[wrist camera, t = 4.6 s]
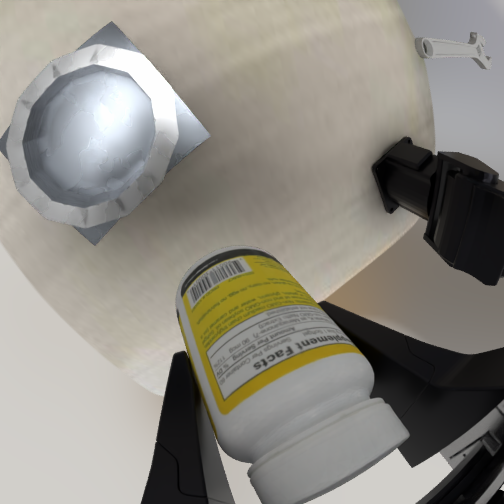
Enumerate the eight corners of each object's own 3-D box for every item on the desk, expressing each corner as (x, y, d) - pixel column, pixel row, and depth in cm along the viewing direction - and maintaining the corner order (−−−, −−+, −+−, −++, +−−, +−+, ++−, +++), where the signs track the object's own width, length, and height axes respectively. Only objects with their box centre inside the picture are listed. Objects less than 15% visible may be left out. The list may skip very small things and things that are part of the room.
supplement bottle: (257, 336, 13) (347, 482, 6) (163, 331, 11) (225, 529, 4) (299, 252, 12) (448, 403, 5) (193, 228, 9) (331, 485, 2)
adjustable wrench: (414, 59, 20) (426, 59, 18) (401, 9, 16) (413, 7, 14) (485, 69, 23) (493, 71, 22) (479, 36, 20) (487, 37, 18)
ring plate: (208, 134, 17) (220, 138, 14) (96, 241, 18) (90, 263, 15) (113, 24, 11) (107, 7, 8) (1, 144, 11) (-22, 152, 8)
